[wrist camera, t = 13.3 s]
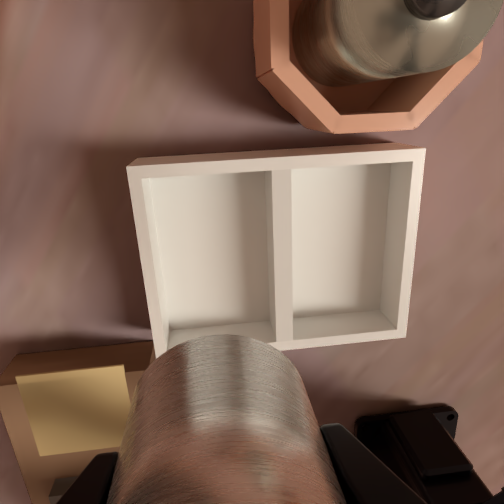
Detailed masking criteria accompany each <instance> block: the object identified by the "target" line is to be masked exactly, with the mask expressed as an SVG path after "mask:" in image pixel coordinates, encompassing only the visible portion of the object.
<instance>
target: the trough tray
mask: <svg viewBox="0 0 504 504" xmlns="http://www.w3.org/2000/svg"><path fill="white" fill-rule="evenodd" d="M425 153H426V148H423V147H417V146H412V145H406V144H401V143H395V142H394V143H377V144H360V145H344V146H327V147H310V148H293V149H276V150H260V151H243V152H226V153H209V154H192V155H176V156H159V157H142V158H137V159H135V160H134V161H133V162H131V163H130V164H129V165H127V166H126V169H127V176H128V182H129V189H130V195H131V201H132V208H133V214H134V221H135V227H136V233H137V240H138V246H139V253H140V259H141V265H142V272H143V278H144V285H145V291H146V297H147V304H148V310H149V317H150V323H151V329H152V336H153V342H154V348H155V355H156V359H157V358H158V357H159V356H160V355H162V354H163V353H165V352H166V351H167V350H169V349H171V348H173V347H175V346H176V345H178V344H181V343H183V342H186V341H188V340H191V339H194V338H198V337H202V336H208V335H216V334H233V335H241V336H247V337H251V338H254V339H257V340H261V341H263V342H265V343H267V344H269V345H271V346H273V347H274V348H276V349H278V350H279V351H283V350H292V349H301V348H311V347H320V346H330V345H339V344H348V343H358V342H367V341H376V340H386V339H395V338H405V337H406V331H407V322H408V312H409V303H410V293H411V284H412V275H413V265H414V256H415V247H416V237H417V228H418V218H419V209H420V200H421V190H422V181H423V171H424V162H425Z"/></svg>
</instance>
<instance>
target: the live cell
mask: <svg viewBox="0 0 504 504" xmlns="http://www.w3.org/2000/svg"><path fill="white" fill-rule="evenodd" d="M106 504H347V503H346V500H345V498H344V495H343V492H342V489H341V487H340V484H339V481H338V478H337V475H336V473H335V470H334V467H333V464H332V461H331V459H330V456H329V453H328V450H327V448H326V445H325V442H324V439H323V436H322V434H321V431H320V428H319V425H318V422H317V420H316V417H315V414H314V411H313V409H312V406H311V403H310V400H309V397H308V395H307V392H306V389H305V386H304V383H303V381H302V378H301V376H300V374H299V372H298V370H297V369H296V367H295V366H294V364H293V363H292V362H291V361H290V360H289V359H288V357H286V356H285V355H284V354H283V353H282V352H280V351H279V350H278V349H276V348H274V347H273V346H271V345H269V344H267V343H265V342H263V341H261V340H257V339H254V338H251V337H247V336H241V335H233V334H216V335H208V336H202V337H198V338H194V339H191V340H188V341H186V342H183V343H181V344H178V345H176V346H175V347H173V348H171V349H169V350H167V351H166V352H165V353H163V354H162V355H160V356H159V357H158V358H157V359H156V360H155V361H154V362H152V363H151V364H150V365H149V367H148V368H147V369H146V370H145V372H144V373H143V374H142V376H141V378H140V379H139V381H138V383H137V386H136V388H135V391H134V394H133V398H132V402H131V406H130V410H129V414H128V418H127V422H126V426H125V430H124V434H123V438H122V442H121V446H120V450H119V454H118V458H117V462H116V466H115V471H114V475H113V479H112V483H111V487H110V491H109V495H108V499H107V503H106Z"/></svg>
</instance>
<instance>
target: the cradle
mask: <svg viewBox="0 0 504 504" xmlns="http://www.w3.org/2000/svg"><path fill="white" fill-rule="evenodd" d="M155 360H156V355H155V348H154V342H153V341H146V342H136V343H127V344H117V345H107V346H97V347H87V348H77V349H67V350H57V351H48V352H38V353H28V354H18V355H16V356H15V357H14V359H13V360H12V361H11V363H10V364H9V365H8V367H7V368H6V369H5V371H4V372H3V373H2V375H1V376H0V411H1V414H2V417H3V420H4V423H5V426H6V429H7V432H8V435H9V438H10V441H11V444H12V447H13V449H14V452H15V455H16V458H17V461H18V464H19V467H20V470H21V473H22V476H23V479H24V482H25V485H26V488H27V491H28V493H29V496H30V499H31V502H32V504H56V503H57V501H58V500H59V499H60V498H61V497H62V495H63V494H64V493H65V492H66V490H67V489H68V488H69V487H70V486H71V484H72V483H73V482H74V481H75V480H76V478H77V477H78V476H79V475H80V473H81V472H82V471H83V470H84V469H85V467H86V466H87V465H88V464H89V463H90V461H91V460H92V459H93V458H94V457H95V456H96V455H97V454H99V453H106V452H114V451H116V452H118V453H119V450H120V446H121V442H122V438H123V434H124V430H125V426H126V422H127V418H128V414H129V410H130V406H131V402H132V398H133V394H134V391H135V388H136V386H137V383H138V381H139V379H140V378H141V376H142V374H143V373H144V372H145V370H146V369H147V368H148V367H149V365H150V364H151V363H152V362H154V361H155Z"/></svg>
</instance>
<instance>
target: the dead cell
mask: <svg viewBox="0 0 504 504" xmlns="http://www.w3.org/2000/svg"><path fill="white" fill-rule="evenodd" d="M502 4H503V0H303V1H302V2H301V4H300V6H299V8H298V10H297V12H296V15H295V18H294V22H293V28H292V43H293V49H294V53H295V56H296V58H297V60H298V63H299V64H300V66H301V68H302V69H303V70H304V72H305V73H306V74H307V75H308V76H309V77H310V78H312V79H313V80H315V81H316V82H318V83H320V84H322V85H326V86H330V87H342V86H349V85H355V84H361V83H367V82H372V81H378V80H384V79H390V78H396V77H402V76H408V75H414V74H420V73H426V72H432V71H437V70H440V69H444V68H446V67H448V66H451V65H453V64H455V63H456V62H458V61H460V60H461V59H463V58H464V57H465V56H467V55H468V54H469V53H470V52H472V51H473V50H474V49H475V48H476V47H477V46H478V45H479V43H480V42H481V41H482V40H483V39H484V37H485V36H486V35H487V33H488V32H489V30H490V29H491V27H492V26H493V24H494V22H495V20H496V18H497V16H498V14H499V11H500V9H501V6H502Z"/></svg>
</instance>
